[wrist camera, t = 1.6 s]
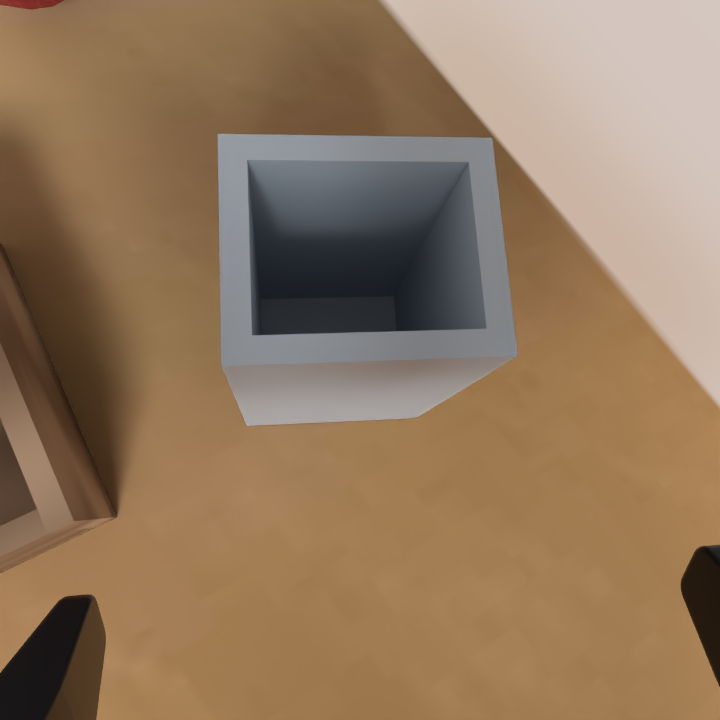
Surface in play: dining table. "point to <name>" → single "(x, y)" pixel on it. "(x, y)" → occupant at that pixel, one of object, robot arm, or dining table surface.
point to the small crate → (359, 274)
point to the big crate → (39, 443)
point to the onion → (30, 3)
